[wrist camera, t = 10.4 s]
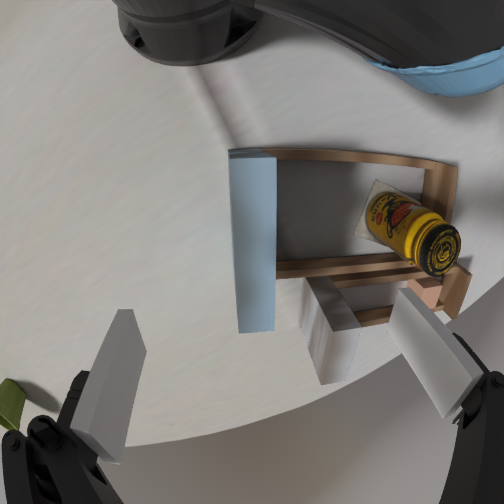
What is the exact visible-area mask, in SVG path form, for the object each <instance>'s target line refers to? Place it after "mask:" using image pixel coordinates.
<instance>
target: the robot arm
mask: <svg viewBox="0 0 504 504" xmlns="http://www.w3.org/2000/svg"><path fill="white" fill-rule="evenodd" d="M112 1H113V2H114V3H115V4H116V5H117V6H118V19H119V26H120V30H121V32H122V34H123V36H124V38H125V40H126V41H127V42H128V44H129V45H130V46H131V47H132V48H133V49H135V50H136V51H137V52H138V53H139V54H141V55H142V56H144V57H145V58H147V59H149V60H151V61H154V62H157V63H160V64H164V65H170V66H193V65H199V64H204V63H208V62H211V61H214V60H217V59H220V58H222V57H224V56H226V55H228V54H230V53H232V52H234V51H235V50H237V49H238V48H239V47H241V46H242V45H243V44H244V43H246V42H247V41H248V40H249V39H250V37H251V36H252V35H253V34H254V33H255V31H256V29H257V28H258V26H259V24H260V22H261V19H262V16H263V13H264V12H265V13H268V14H271V15H274V16H277V17H280V18H283V19H285V20H288V21H291V22H293V23H296V24H298V25H301V26H303V27H306V28H308V29H310V30H313V31H315V32H317V33H319V34H321V35H324V36H326V37H328V38H330V39H332V40H334V41H336V42H338V43H339V44H341V45H343V46H345V47H347V48H349V49H350V50H352V51H354V52H356V53H357V54H359V55H361V56H362V57H363V58H364V59H365V60H366V61H367V62H369V63H370V64H372V65H373V66H375V67H377V68H379V69H382V70H385V71H388V72H390V73H392V74H394V75H395V76H397V77H399V78H400V79H402V80H403V81H405V82H406V83H408V84H409V85H411V86H412V87H414V88H416V89H418V90H420V91H423V92H425V93H428V94H432V95H444V96H447V97H466V96H472V95H477V94H481V93H484V92H487V91H490V90H492V89H494V88H496V87H498V86H501V85H502V84H504V0H112ZM386 330H387V331H388V333H389V334H390V336H391V337H392V339H393V340H394V342H395V343H396V345H397V346H398V348H399V349H400V351H401V352H402V354H403V355H404V357H405V358H406V360H407V361H408V363H409V364H410V366H411V367H412V369H413V371H414V372H415V374H416V375H417V377H418V379H419V380H420V382H421V383H422V385H423V387H424V388H425V390H426V391H427V393H428V395H429V397H430V398H431V400H432V402H433V403H434V405H435V406H436V408H437V410H438V412H439V413H440V415H441V417H442V419H444V418H445V417H447V416H449V415H451V414H453V413H455V411H456V410H457V409H458V408H459V406H460V405H461V406H462V408H463V409H462V411H461V412H460V413H459V414H458V415H457V417H456V418H455V419H454V420H453V423H452V424H455V422H456V421H457V420H458V419H459V422H458V423H457V425H458V431H457V437H456V442H455V447H454V452H453V457H452V461H451V465H450V469H449V473H448V477H447V480H446V483H445V487H444V490H443V493H442V496H441V499H440V502H439V504H504V375H503V374H502V373H500V372H498V371H492V372H490V371H489V370H488V369H487V368H486V366H485V365H484V364H483V363H482V361H481V360H480V359H479V358H478V356H477V355H476V354H475V353H474V352H473V350H472V349H471V348H470V347H469V346H468V344H467V343H466V342H465V341H464V340H463V339H462V338H461V337H460V336H458V335H457V334H455V333H451V332H450V331H449V330H448V328H447V327H446V326H445V325H444V324H443V323H442V322H441V320H440V319H439V318H438V317H437V316H436V315H435V314H434V313H433V312H432V311H431V309H430V308H429V307H428V306H427V305H426V304H425V303H424V302H423V301H422V300H421V299H420V298H419V297H418V296H417V295H416V293H415V292H414V291H413V290H412V289H411V288H410V287H408V288H401V289H398V292H397V296H396V300H395V303H394V307H393V310H392V313H391V316H390V320H389V323H388V326H387V329H386ZM146 352H147V351H146V348H145V345H144V342H143V340H142V337H141V334H140V331H139V328H138V325H137V321H136V318H135V315H134V312H133V309H118V311H117V313H116V315H115V317H114V320H113V322H112V324H111V326H110V328H109V330H108V332H107V334H106V337H105V339H104V341H103V343H102V345H101V348H100V350H99V352H98V355H97V357H96V359H95V362H94V364H93V366H92V369H91V371H83V370H82V371H81V372H80V373H79V374H78V375H77V376H76V377H75V378H74V380H73V382H72V384H71V387H70V390H69V391H68V394H67V398H66V399H65V401H64V404H63V406H62V409H61V412H60V414H59V417H58V420H57V422H55V421H54V420H53V419H52V418H51V417H49V416H46V415H40V416H36V417H35V418H33V419H32V420H31V422H30V423H29V425H28V428H27V435H28V437H25V436H24V435H23V434H22V433H21V432H20V431H18V430H16V429H12V430H9V431H7V432H6V433H5V434H4V436H3V438H2V463H3V476H4V485H5V493H6V499H7V504H124V503H123V502H122V501H121V499H120V498H119V496H118V495H117V493H116V492H115V490H114V489H113V487H112V486H111V484H110V483H109V481H108V479H107V478H106V476H105V475H104V473H103V471H102V470H101V468H100V466H99V465H98V464H97V457H98V456H99V457H100V458H101V459H102V460H103V461H105V462H109V463H114V464H120V465H121V463H122V458H123V452H124V447H125V442H126V436H127V431H128V427H129V422H130V417H131V413H132V408H133V404H134V399H135V395H136V391H137V387H138V383H139V379H140V375H141V371H142V367H143V363H144V359H145V356H146Z"/></svg>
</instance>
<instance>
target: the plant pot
mask: <svg viewBox="0 0 504 504" xmlns="http://www.w3.org/2000/svg"><path fill="white" fill-rule="evenodd" d="M25 400H26V394H25V393H24V391H22V390H21V389H20V387H19V386H18V385H17V384H16V383H14V382H13V381H11V380H9V379H5V380H4V381H3V382H2V383H1V384H0V425H1V426H2V427H4V428H5V429H7V430H8V431H9V430H12V429H16V430H18V431H19V428H20V420H21V415H22V411H23V407H24V403H25Z"/></svg>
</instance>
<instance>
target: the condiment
mask: <svg viewBox="0 0 504 504" xmlns="http://www.w3.org/2000/svg"><path fill="white" fill-rule="evenodd" d="M353 235H356V236H359V237H362V238H365V239H368V240H371V241H374V242H377V243H379V244H382V245H384V246H387V247H389V248H391V249H392V250H393V251H394V252H396V253H397V254H398V255H399V256H400V257H401V258H403V259H404V260H405V261H406V262H408V263H409V264H410V265H412V266H413V267H416V268H420V269H421V270H423V271H424V272H425V273H426V274H428V275H429V276H433V277H440V276H442V275H444V274H445V273H446V272H448V271H449V270H450V269H451V268H452V266H453V265H454V263H455V262H456V260H457V258H458V256H459V253H460V249H461V238H460V235H459V232H458V231H457V230H456V229H455V227H453V226H452V225H449V224H448V223H447V222H445V221H444V220H443V219H442V217H441V216H440V215H439V214H437V213H435V212H433V211H431V210H429V209H427V208H425V207H423V206H421V203H420V202H419V201H417V200H415V199H413V198H411V197H409V196H408V195H406V194H404V193H402V192H400V191H398V190H396V189H394V188H392V187H390V186H388V185H386V184H384V183H382V182H380V181H378V180H375V182H374V185H373V188H372V190H371V193H370V195H369V197H368V200H367V202H366V204H365V207H364V210H363V212H362V214H361V217H360V220H359V223H358V225H357V228H356V230H355V232H354V234H353Z"/></svg>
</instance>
